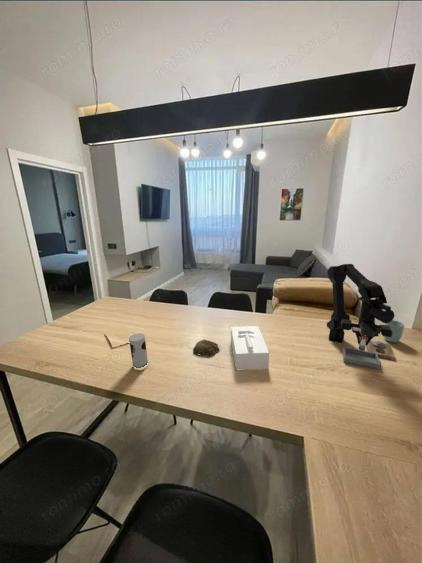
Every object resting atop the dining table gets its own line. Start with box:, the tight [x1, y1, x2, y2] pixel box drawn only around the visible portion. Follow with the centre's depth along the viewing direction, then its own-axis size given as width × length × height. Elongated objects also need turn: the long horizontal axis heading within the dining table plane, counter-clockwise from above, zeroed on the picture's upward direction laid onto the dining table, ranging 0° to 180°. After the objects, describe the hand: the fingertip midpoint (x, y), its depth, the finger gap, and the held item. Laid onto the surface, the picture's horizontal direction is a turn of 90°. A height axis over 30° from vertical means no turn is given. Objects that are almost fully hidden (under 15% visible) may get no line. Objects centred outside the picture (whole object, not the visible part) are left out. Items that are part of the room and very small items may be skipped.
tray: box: [342, 346, 381, 371], centre depth 110 cm, size 14×10×2 cm
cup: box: [383, 319, 405, 344], centre depth 124 cm, size 8×8×10 cm
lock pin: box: [358, 333, 368, 351], centre depth 108 cm, size 3×3×8 cm
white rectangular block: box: [230, 325, 270, 370], centre depth 117 cm, size 14×25×11 cm, turn 0°
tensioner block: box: [366, 340, 396, 361], centre depth 117 cm, size 10×12×3 cm
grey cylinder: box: [129, 333, 149, 368], centre depth 109 cm, size 7×7×15 cm
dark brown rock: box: [192, 338, 220, 357], centre depth 122 cm, size 13×12×5 cm
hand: (362, 344), depth 108 cm, fingers closed on lock pin, 2 cm apart
